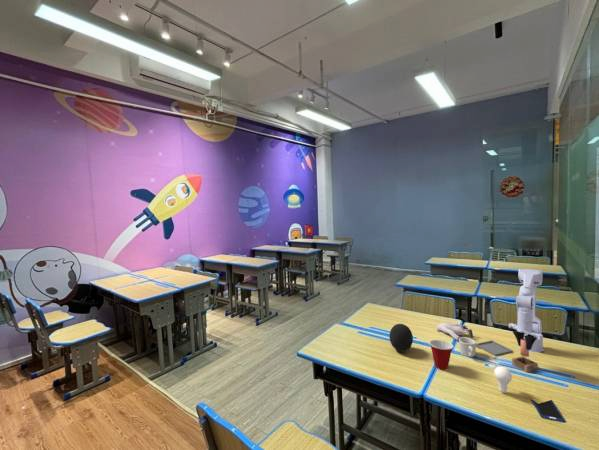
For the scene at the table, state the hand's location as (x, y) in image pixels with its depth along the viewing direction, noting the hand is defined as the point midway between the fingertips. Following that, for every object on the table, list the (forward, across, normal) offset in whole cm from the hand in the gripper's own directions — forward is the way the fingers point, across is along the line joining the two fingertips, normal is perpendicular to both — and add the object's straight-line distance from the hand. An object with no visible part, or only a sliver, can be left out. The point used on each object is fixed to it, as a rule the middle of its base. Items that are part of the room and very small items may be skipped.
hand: (524, 347), depth 135 cm
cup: (+10, -17, -16) cm, 26 cm away
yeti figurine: (+11, -40, -2) cm, 42 cm away
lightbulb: (+10, +10, -26) cm, 30 cm away
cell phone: (+11, +22, -19) cm, 31 cm away
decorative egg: (+10, -34, -45) cm, 57 cm away
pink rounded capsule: (+4, 0, 0) cm, 4 cm away
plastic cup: (+10, -14, -36) cm, 40 cm away
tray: (+10, -18, +2) cm, 21 cm away
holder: (+10, 0, 0) cm, 10 cm away
